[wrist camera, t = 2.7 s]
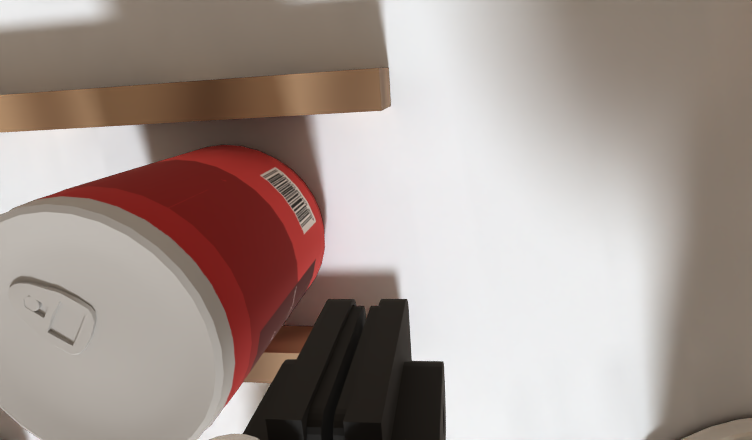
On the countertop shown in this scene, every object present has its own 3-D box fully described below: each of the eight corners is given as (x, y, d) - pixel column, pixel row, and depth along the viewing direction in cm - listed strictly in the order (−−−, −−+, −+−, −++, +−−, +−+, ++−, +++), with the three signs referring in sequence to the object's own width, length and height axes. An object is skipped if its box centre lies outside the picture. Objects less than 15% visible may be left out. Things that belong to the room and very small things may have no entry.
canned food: (175, 121, 23) (-58, 165, 13) (347, 168, 23) (248, 255, 12) (156, 275, 26) (-53, 417, 15) (312, 323, 25) (204, 504, 15)
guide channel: (388, 67, 21) (371, 68, 18) (405, 356, 25) (394, 409, 21) (-141, 105, 26) (-245, 112, 22) (-64, 345, 29) (-143, 387, 26)
